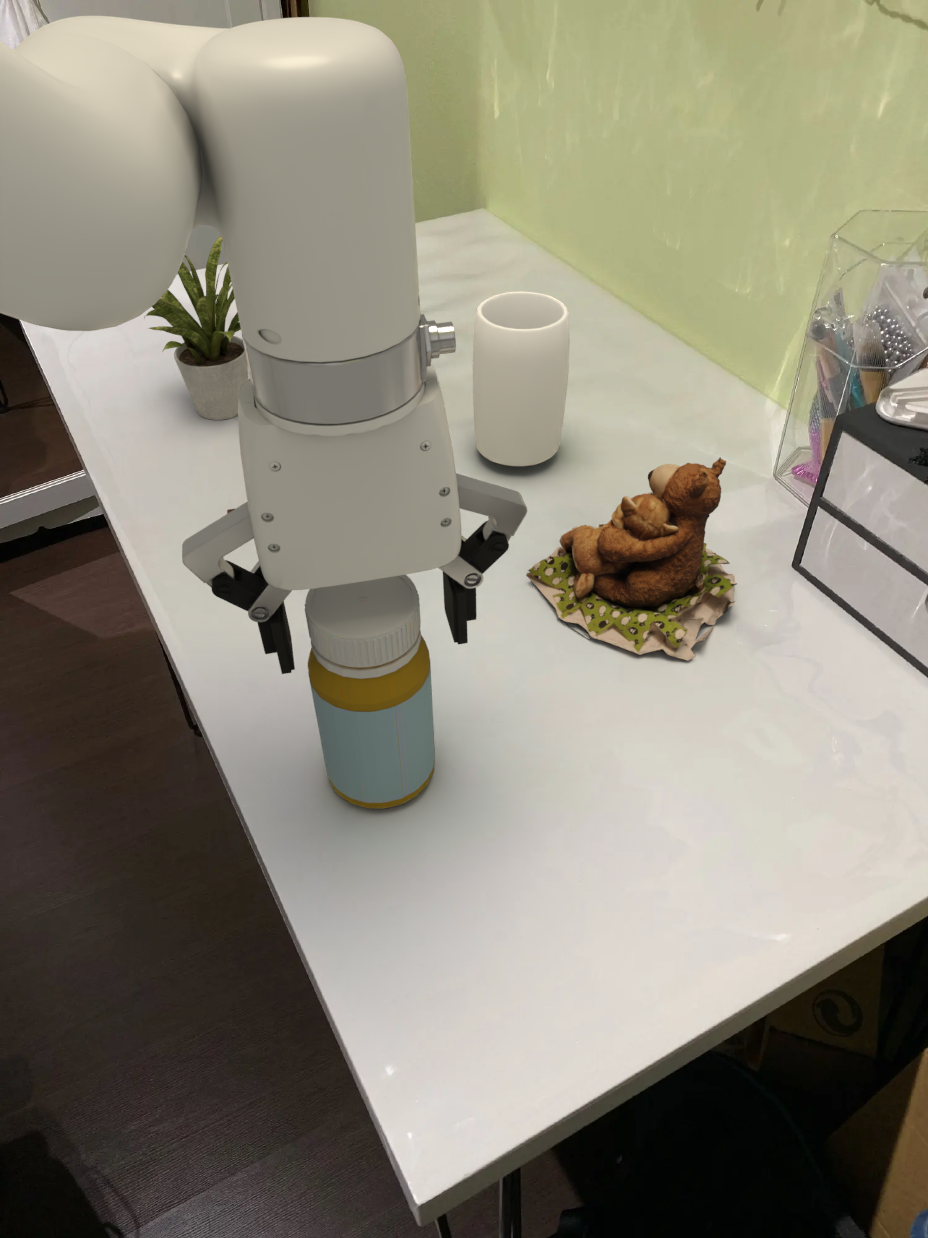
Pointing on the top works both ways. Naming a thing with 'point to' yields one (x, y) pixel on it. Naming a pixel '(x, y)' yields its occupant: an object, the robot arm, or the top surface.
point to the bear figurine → (645, 567)
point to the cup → (520, 377)
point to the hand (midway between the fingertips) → (372, 641)
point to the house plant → (206, 340)
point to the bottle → (372, 690)
